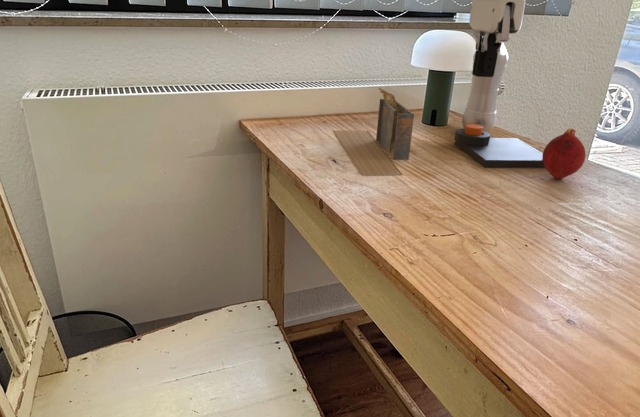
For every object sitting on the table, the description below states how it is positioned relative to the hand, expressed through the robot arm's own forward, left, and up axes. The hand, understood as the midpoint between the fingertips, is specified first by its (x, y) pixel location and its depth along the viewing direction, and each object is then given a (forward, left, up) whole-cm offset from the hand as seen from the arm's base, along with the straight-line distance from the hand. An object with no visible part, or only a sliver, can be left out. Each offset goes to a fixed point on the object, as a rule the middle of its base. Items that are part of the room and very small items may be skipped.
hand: (482, 75), depth 83 cm
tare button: (0, 0, -10) cm, 10 cm away
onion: (-8, +15, -13) cm, 22 cm away
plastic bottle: (-6, -11, -13) cm, 18 cm away
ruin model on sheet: (+15, +1, -13) cm, 20 cm away
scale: (-4, +4, -13) cm, 14 cm away
